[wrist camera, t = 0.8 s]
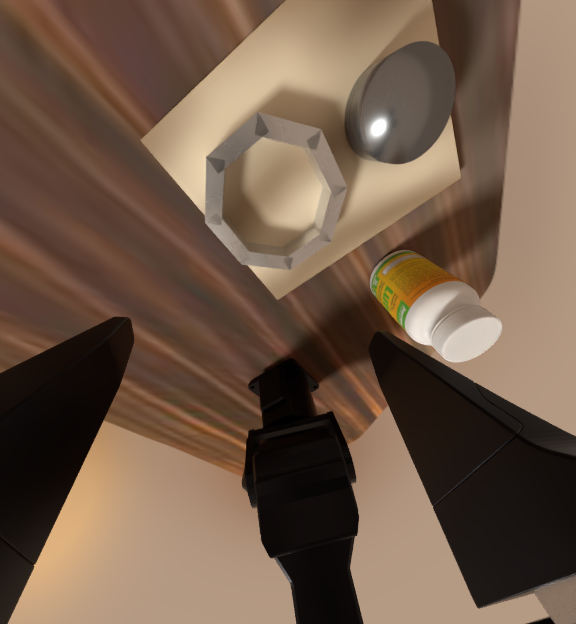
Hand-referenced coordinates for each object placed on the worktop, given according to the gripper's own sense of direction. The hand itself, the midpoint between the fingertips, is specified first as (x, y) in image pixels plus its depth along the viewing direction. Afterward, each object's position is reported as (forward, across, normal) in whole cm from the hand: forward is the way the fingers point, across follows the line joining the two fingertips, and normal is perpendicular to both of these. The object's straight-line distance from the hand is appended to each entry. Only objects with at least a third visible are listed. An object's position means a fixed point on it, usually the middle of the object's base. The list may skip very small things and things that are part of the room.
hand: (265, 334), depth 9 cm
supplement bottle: (+13, -14, +2) cm, 19 cm away
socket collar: (+12, -1, -3) cm, 13 cm away
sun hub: (+12, -7, -9) cm, 17 cm away
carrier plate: (+12, -4, -6) cm, 14 cm away
